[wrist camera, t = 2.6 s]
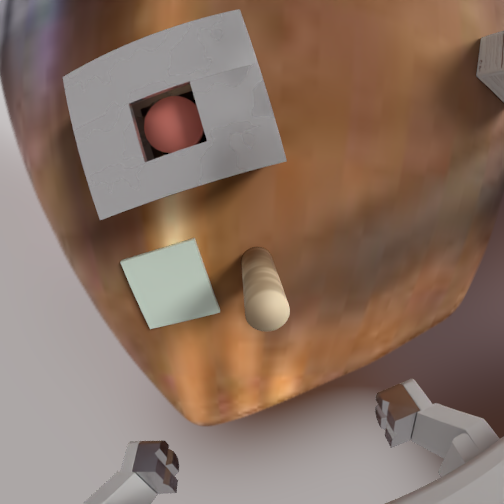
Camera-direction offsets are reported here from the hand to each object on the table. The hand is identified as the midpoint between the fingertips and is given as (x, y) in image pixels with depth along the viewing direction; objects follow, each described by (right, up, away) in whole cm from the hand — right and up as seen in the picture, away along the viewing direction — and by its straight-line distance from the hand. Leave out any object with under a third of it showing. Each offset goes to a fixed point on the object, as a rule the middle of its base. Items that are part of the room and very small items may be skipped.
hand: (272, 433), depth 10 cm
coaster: (-9, +3, +20) cm, 22 cm away
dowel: (0, +6, +20) cm, 21 cm away
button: (-7, +17, +13) cm, 23 cm away
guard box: (-7, +19, +15) cm, 25 cm away
